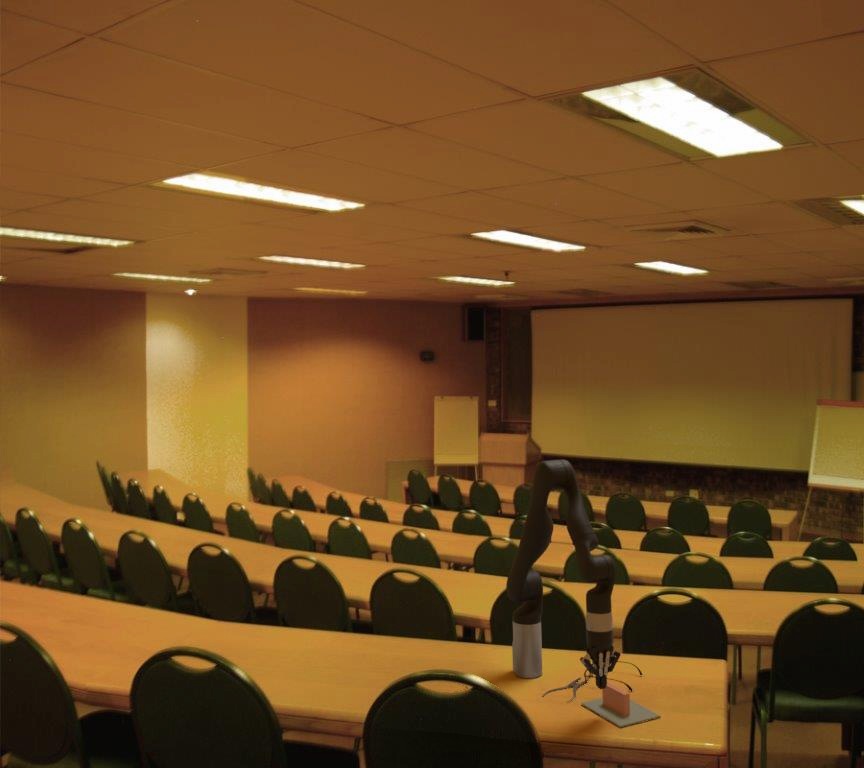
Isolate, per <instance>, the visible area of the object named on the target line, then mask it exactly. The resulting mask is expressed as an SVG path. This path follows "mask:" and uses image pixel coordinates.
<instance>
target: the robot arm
mask: <svg viewBox="0 0 864 768" xmlns="http://www.w3.org/2000/svg"><path fill="white" fill-rule="evenodd" d="M553 491H563V493H564V495H565V497H566V500H567V511H566V512H567V513H566V520H565V521H566V524H565V525H566V530H567V532H568V534H569V535H568V536H569V537H570V541H571V543H572V545H573V546H574V550H575V555H576V562H577V571H578V573H579V576H580V577H581V579H582V580H583V581H585V582H586V583H589V584H590V583H591V584H592V583H596V585H595V586H594V587H592V588H591V589H589V590H587V591H586V593H585V604H586V605H585V607H586V608H585V609H586V610H585V611H586V614H585V633H586V634H585V635H586V641H585V642H586V644H587V648H586V654H585V655H584V656H581V657H580V658H579V660H580V663H582V665H583V666H584V667H585V668H586V669H587V672H589V674H590V673H591V674H592V675H593V674H594V677H596V678H595V686H596V687H597V689H599V690H602V689H604V688H606V686H607V682H608V681H607V680H608V679H607V677H608V676H607V675H608V674H609V673H611V672H613V671H614V669H615V666H616V665H617V663H618V662H617V661H619V659H620V657H621V655H622V654H621V652H618V651H617V650H615V648H614V645H613V644H614V618H613V613H612V595H613V590H614V585H615V581H616V577H617V565H616V562H615V560H614V559H613V557H612V556H610V555H608V554H601V555H596V556H595V555H594V556H592V553H591V552H592V551H594V550H596V549H597V548H598V546H599V540H598V537H597V535H596V532H595V531H594V528H593V526H592V524H591V521H590V519H589V517H588V514H587V512H586V511H587V510H586V508H585V504H584V501H583V496H582V494H581V489H580V486H579V482H578V479H577V475H576V472H575V470H574V466H573V465H572V464H571V463H570V462H569V460H566V459H551V460H542V461H540V462H539V463H538V464H537V465H536V468H535V470H534V475H533V479H532V488H531V495H530V499H529V506H528V508H527V512H526V516H525V521H524V524H523V527H522V531H521V535H520V539H519V544H518V548H517V550H516V554H515V556H514V557H515V558H514V560H513V562H512V566H511V568H510V571H509V574H508V576H507V579H506V586H505V587H506V588H505V589H506V595H507V596H508V598H509V599H510V601H512V602H516V603H517V602H523V603H522V604H521V605H520V606H519V607H518V608H516V609H514V610H513V612H512V642H511V647H512V648H511V650H512V651H511V652H512V671H513V674H514V675H515V677H518V678H524V679H535V678H539V677H541V676H542V675H543V649H542V648H543V647H542V645H543V644H542V641H543V639H542V615H543V607H544V606H543V604H544V602H543V601H544V599H543V598H544V585H543V584H544V583H543V579H542V577H541V574H540V573H539V572H538V571H537V570H533V569H532V570H531V568H532V567H533V566H534V564H536V562H537V561H538V560H539V559H540V558H541V556H542V555H543V554H545V552H546V551H547V549H548V547H549V546H550V544H551V543H550V542H551V539H552V536H553V533H554V520H553V518H552V516H551V513H550V511H549V509H548V500H549V496H550V493H551V492H553Z"/></svg>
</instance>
